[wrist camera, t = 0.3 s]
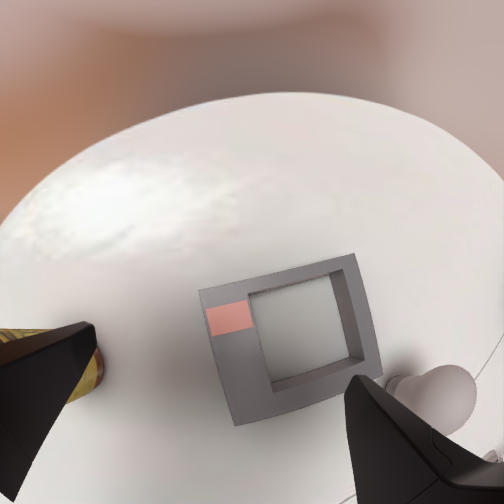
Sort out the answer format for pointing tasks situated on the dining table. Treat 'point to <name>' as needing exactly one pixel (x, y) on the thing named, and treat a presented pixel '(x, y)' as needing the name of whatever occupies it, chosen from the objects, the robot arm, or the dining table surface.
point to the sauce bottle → (90, 375)
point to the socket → (250, 353)
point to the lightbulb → (438, 396)
